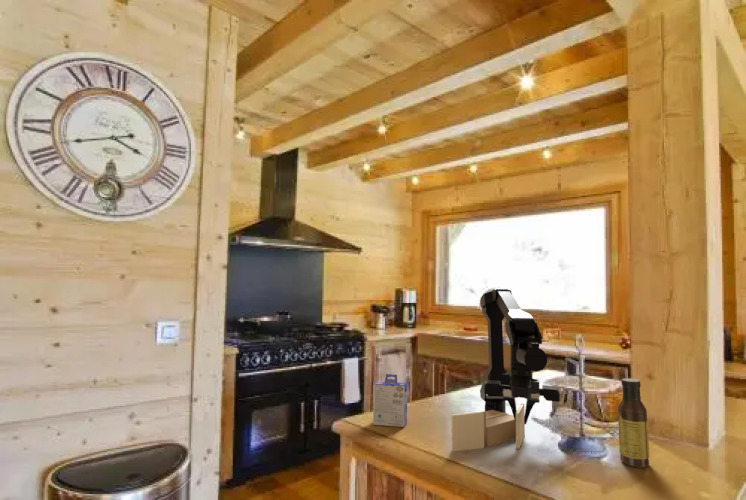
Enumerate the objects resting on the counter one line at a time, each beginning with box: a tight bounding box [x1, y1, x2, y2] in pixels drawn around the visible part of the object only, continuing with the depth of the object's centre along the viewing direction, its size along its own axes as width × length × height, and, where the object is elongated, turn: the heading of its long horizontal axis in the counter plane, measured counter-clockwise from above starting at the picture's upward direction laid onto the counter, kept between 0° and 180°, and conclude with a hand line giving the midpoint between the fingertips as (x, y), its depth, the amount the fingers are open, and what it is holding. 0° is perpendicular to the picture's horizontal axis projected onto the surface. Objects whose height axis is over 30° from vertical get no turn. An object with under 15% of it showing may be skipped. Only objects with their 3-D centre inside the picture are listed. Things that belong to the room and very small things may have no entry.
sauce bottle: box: [617, 377, 650, 469], centre depth 110 cm, size 6×6×20 cm
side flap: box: [515, 403, 526, 449], centre depth 124 cm, size 11×1×9 cm, turn 155°
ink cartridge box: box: [372, 373, 408, 428], centre depth 139 cm, size 10×6×14 cm, turn 78°
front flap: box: [451, 411, 487, 452], centre depth 118 cm, size 1×10×9 cm, turn 108°
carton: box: [484, 410, 516, 448], centre depth 128 cm, size 15×10×5 cm, turn 128°
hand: (520, 423), depth 120 cm, fingers closed
